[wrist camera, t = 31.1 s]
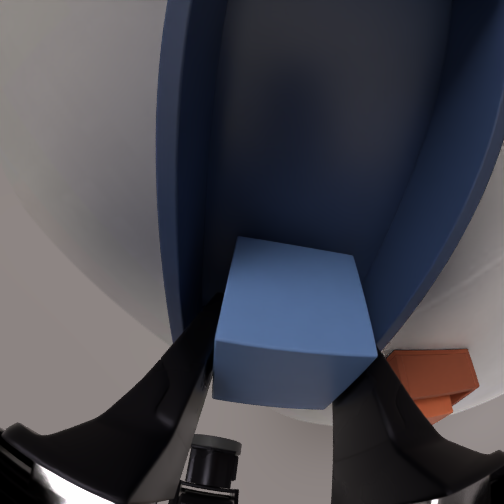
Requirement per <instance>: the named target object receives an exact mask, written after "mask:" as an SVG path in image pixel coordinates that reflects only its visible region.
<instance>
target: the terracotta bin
mask: <svg viewBox="0 0 504 504" xmlns="http://www.w3.org/2000/svg"><path fill="white" fill-rule="evenodd" d="M386 360H387V362H388V363H389V365H390V366H391V368H392V369H393V371H394V372H395V374H396V375H397V377H398V378H399V380H400V381H401V383H402V384H403V386H404V387H405V389H406V391H407V392H408V394H409V395H410V396H411V398H412V399H413V400H417V399H425V398H432V397H438V396H445V395H449V396H450V400H451V404H452V406H453V405H454V404H456V403H457V402H459V401H460V400H462V399H463V398H464V397H466V396H467V395H469V394H470V393H471V392H473V391H474V390H475V389H477V388H478V387H479V383H478V379H477V376H476V373H475V370H474V366H473V363H472V360H471V358H470V355H469V352H468V349H457V350H394V351H393V352H392V353H391V354H390V355H389V356H388V358H387V359H386ZM401 383H400V384H401Z"/></svg>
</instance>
